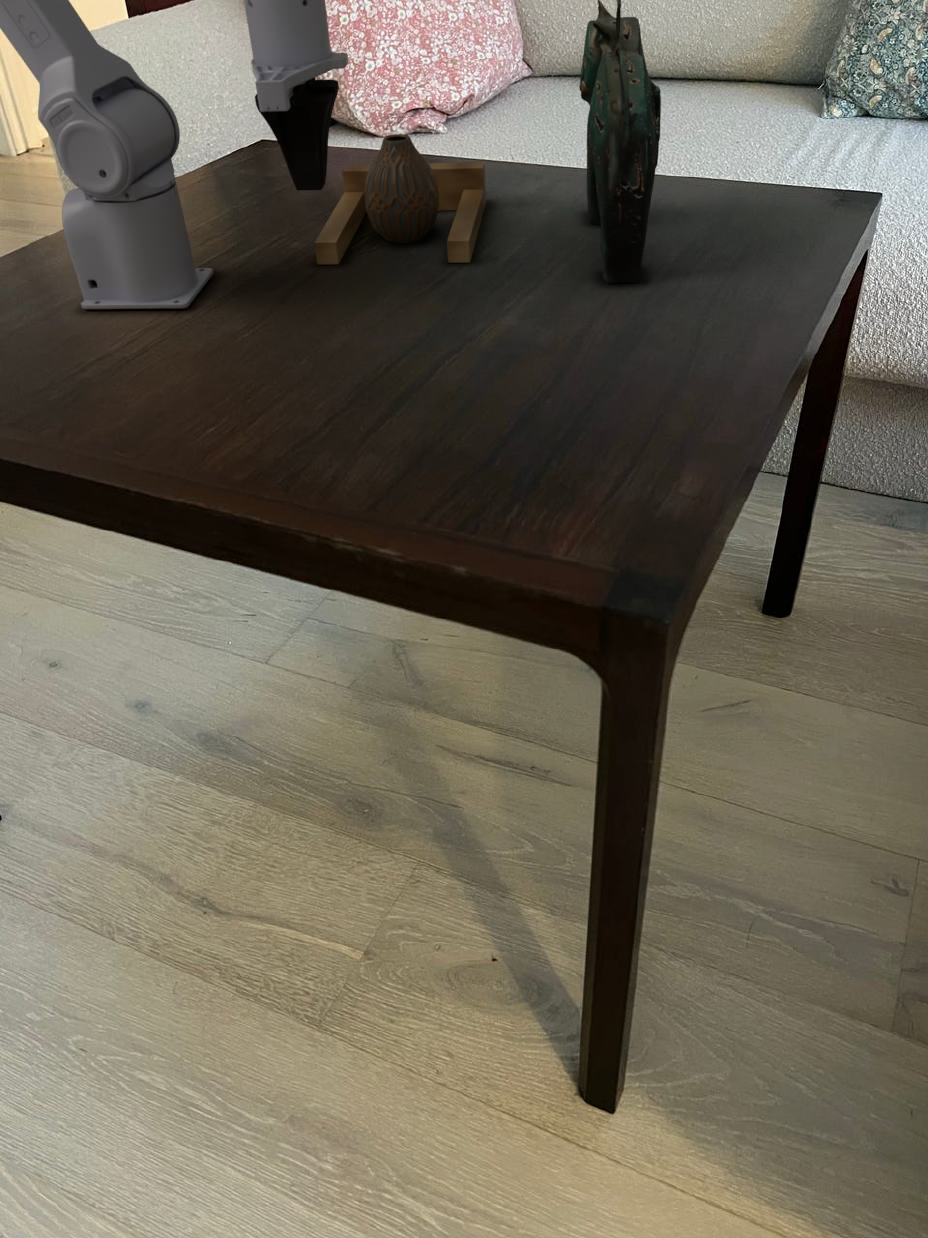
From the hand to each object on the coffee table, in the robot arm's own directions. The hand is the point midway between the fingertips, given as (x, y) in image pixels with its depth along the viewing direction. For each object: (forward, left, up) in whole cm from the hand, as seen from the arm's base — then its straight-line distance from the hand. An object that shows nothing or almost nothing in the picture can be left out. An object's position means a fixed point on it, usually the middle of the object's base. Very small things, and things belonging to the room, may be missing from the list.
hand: (310, 187), depth 80 cm
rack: (+5, +15, -9) cm, 18 cm away
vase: (+5, +15, -9) cm, 18 cm away
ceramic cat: (+25, +12, -9) cm, 29 cm away
